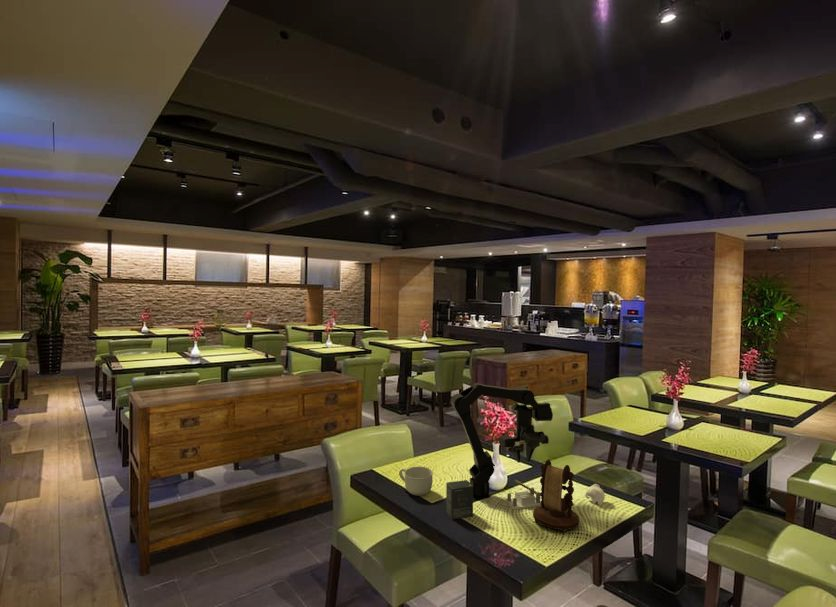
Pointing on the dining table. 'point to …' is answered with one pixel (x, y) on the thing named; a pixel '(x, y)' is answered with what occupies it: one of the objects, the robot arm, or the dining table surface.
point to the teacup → (417, 480)
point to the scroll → (556, 499)
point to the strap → (525, 486)
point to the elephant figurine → (595, 494)
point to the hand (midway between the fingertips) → (523, 462)
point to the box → (459, 499)
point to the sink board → (524, 500)
